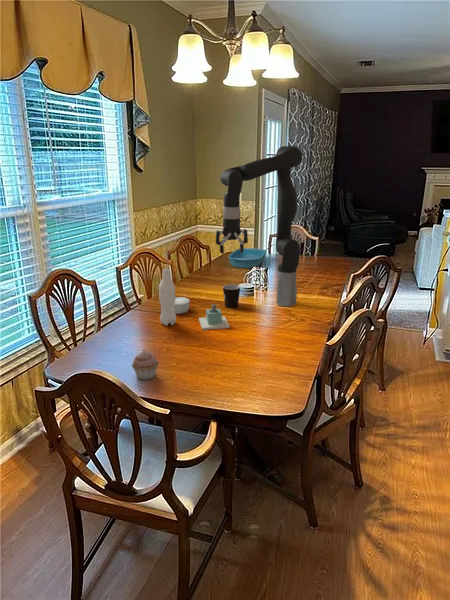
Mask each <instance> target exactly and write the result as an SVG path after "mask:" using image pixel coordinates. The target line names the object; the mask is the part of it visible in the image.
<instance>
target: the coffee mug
mask: <svg viewBox="0 0 450 600" xmlns="http://www.w3.org/2000/svg"><path fill="white" fill-rule="evenodd" d="M222 291H223V299H224V306H225V308H227V309H236V308H238V307H239V300H240V291H241V286H240V285H238V284H233V283H230V284H225V285H222Z"/></svg>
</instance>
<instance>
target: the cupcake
mask: <svg viewBox="0 0 450 600" xmlns="http://www.w3.org/2000/svg"><path fill="white" fill-rule="evenodd" d="M159 364H160V362H159V361H158V359H156V356H155V355H154V354H153V353H152V352H150V351H148V350H146V349H145V350H144V349H143V350H142V352H140V353H138V354H137V355H136V356H135V358H134V359H133V361H132V364H131V368H133V371H134V372H135V375H136V377H137V379H138V380H139V381H150V380H152V379H154V378H155V377H156V375H157V368H158V366H159Z"/></svg>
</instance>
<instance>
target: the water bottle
mask: <svg viewBox="0 0 450 600" xmlns="http://www.w3.org/2000/svg"><path fill="white" fill-rule="evenodd" d="M161 275H162V279H161V281H160V283H159V285H158V291H159V292H158V295H159V296H158V297H159V298H158V299H159V304H160V310H161V311H160V316H159V319H160V320H159V321H160V322H161V324H162V325H163V326H166V327H167V326H168V325H169V324H170V325H171V326H173V325H174V324H175V323H176V320H177V314H175V309H174V304H175V300H176V299H175V297H176V286H175V283H174V281H173V280H172V278H171V271H170V269H169V268H164V269H162V274H161Z"/></svg>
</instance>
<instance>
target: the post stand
mask: <svg viewBox="0 0 450 600" xmlns="http://www.w3.org/2000/svg"><path fill="white" fill-rule="evenodd" d="M211 309H212V313H216V309H217V304H214V303H213V304H211ZM198 321H199V325H200V327H201V330H202V331H205V330H207V331H209V330H220V329H230V328H231V327H230V324H229V322H228V320H227V318H226V316H225V315H223V316H222V324H212V325H208V323H207V320H206V316H205V317H198Z"/></svg>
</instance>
